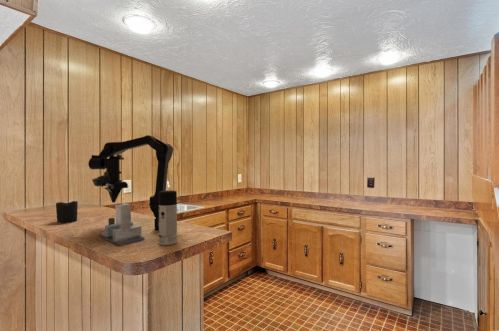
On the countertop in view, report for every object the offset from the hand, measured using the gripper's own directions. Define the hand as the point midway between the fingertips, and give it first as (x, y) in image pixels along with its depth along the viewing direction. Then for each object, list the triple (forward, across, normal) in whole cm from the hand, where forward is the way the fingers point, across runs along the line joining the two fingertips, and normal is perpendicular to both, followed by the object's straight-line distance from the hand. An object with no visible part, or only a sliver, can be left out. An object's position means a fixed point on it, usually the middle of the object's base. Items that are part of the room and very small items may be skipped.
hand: (113, 202), depth 126 cm
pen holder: (+12, -32, -11) cm, 37 cm away
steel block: (+11, +21, -4) cm, 24 cm away
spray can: (+12, +40, +5) cm, 42 cm away
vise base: (+12, +18, -4) cm, 22 cm away
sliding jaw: (+11, +13, -4) cm, 18 cm away
